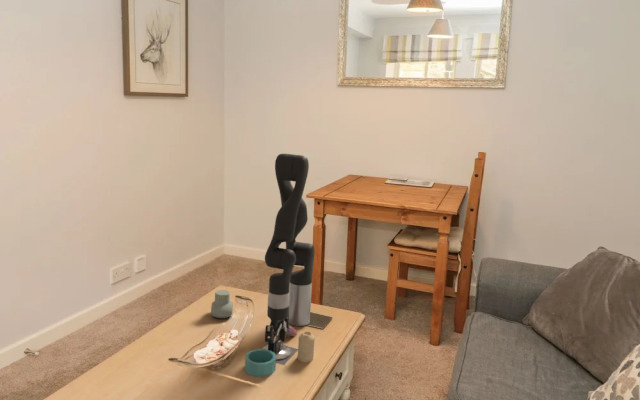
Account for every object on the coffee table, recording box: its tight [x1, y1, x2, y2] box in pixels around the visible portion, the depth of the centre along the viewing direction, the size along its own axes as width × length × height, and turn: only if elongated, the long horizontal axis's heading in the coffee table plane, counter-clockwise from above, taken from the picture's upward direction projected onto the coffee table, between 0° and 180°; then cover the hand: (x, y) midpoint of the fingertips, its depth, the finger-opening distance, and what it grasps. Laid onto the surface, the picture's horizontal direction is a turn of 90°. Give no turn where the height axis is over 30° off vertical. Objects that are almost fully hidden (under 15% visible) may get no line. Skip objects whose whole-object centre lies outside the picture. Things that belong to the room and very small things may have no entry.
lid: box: [262, 337, 291, 360], centre depth 184 cm, size 10×10×5 cm
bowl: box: [244, 348, 277, 378], centre depth 174 cm, size 10×10×5 cm
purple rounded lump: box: [274, 324, 298, 338], centre depth 198 cm, size 10×5×7 cm, turn 68°
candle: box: [297, 331, 315, 363], centre depth 181 cm, size 6×6×10 cm
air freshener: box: [210, 289, 234, 319], centre depth 212 cm, size 11×8×10 cm
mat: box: [261, 342, 298, 366], centre depth 185 cm, size 12×12×1 cm
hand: (276, 346), depth 184 cm, fingers open, 8 cm apart
